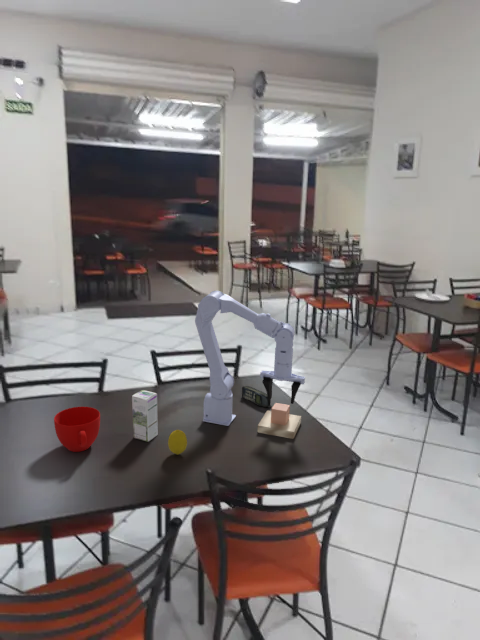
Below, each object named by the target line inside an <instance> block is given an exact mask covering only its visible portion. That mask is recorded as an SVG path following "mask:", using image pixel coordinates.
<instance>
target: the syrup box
mask: <svg viewBox="0 0 480 640" xmlns="http://www.w3.org/2000/svg"><path fill="white" fill-rule="evenodd" d="M131 396H132V397H131V402H132V403H131V404H132V407H131V408H132V431H133V433H132V435H133V438H134V439H137V440H140V441H142V442H143V441H144V442H148V443H149V442H150V441H151V440H153V439H155V437H157V436H158V434H159V431H158V430H159V428H158V427H159V425H158V393H156V392H152V391H148V390H146V389H145V390H144V389H142V390H140V391H138V392H136V393H134V394H133V395H131Z"/></svg>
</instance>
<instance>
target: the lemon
mask: <svg viewBox="0 0 480 640" xmlns="http://www.w3.org/2000/svg"><path fill="white" fill-rule="evenodd" d="M167 445H168V446H167V447H168V449H169V452H171V453H173V454H175V455H181V454H183V453H184V452H185V451H186V449H187V446H188V438H187V435H186V433H185V432H184V431H182V430H181V429H176V430H173V431H172V432H171V433H170V434H169V436H168V440H167Z"/></svg>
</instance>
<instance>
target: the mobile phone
mask: <svg viewBox="0 0 480 640" xmlns="http://www.w3.org/2000/svg"><path fill="white" fill-rule="evenodd" d="M241 398H243V399H244V400H247V401H249V402H252V403H254V404H256V405H257V406H260V407H263V408H270V409H272V407H273V406H272V405H271V402H272V398H271V399H270V400H268V396H267V392H266V393H265V392H264V391H261V390H259V389H257V388H254V387H251V386H249V385H245V386H244V385H243V386H242V387H241Z"/></svg>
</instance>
